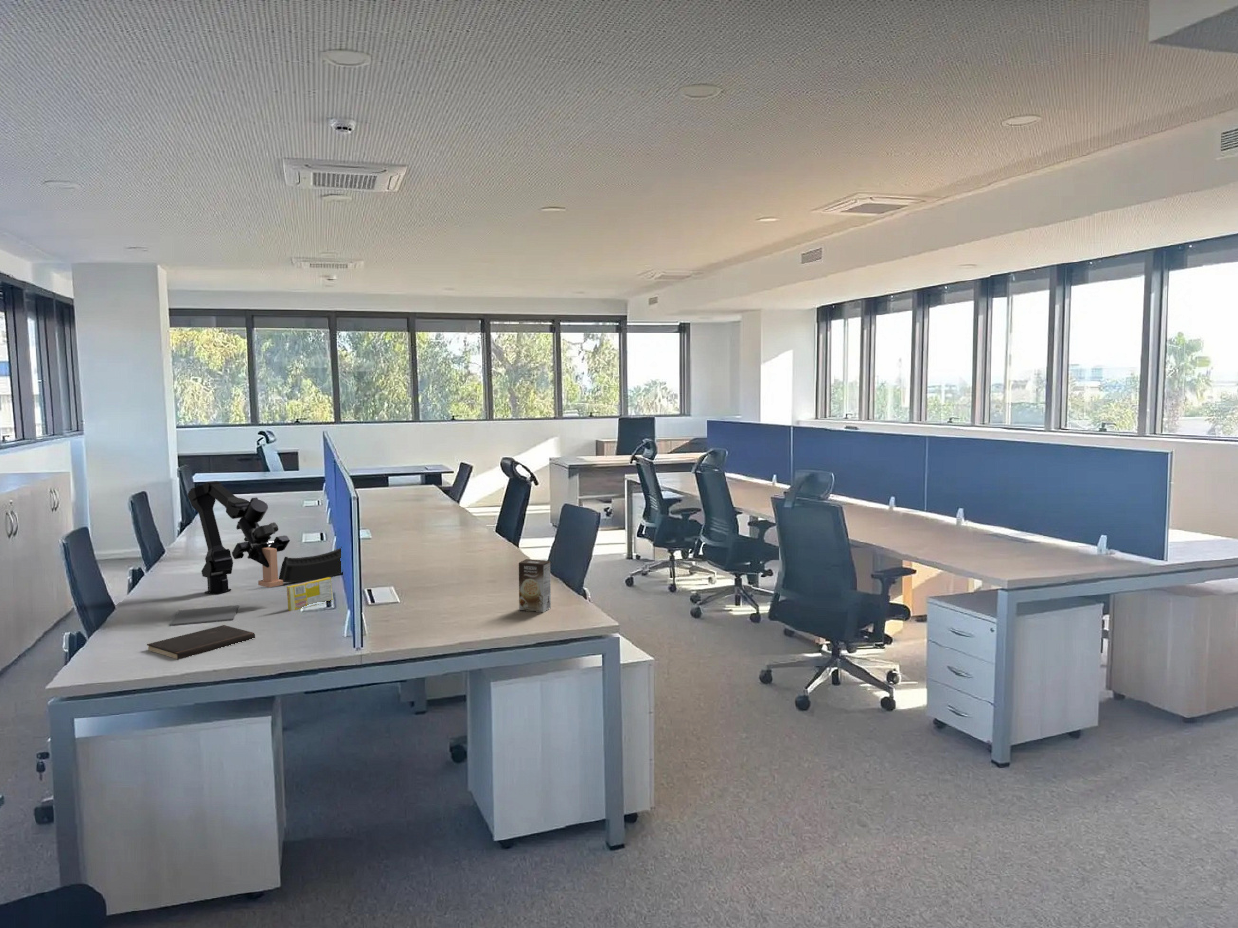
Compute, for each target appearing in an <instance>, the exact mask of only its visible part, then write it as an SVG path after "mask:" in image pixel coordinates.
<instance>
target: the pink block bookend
mask: <svg viewBox="0 0 1238 928" xmlns="http://www.w3.org/2000/svg"><path fill="white" fill-rule="evenodd" d="M262 552H263V554H264V556H265V558H266V559H267V561H268V563H269V567H268V568H267V567H265V566H264V565H262V564H261V567H262V580H261V579H260V580H258V582H257V583H258V586H260V587H265V588H274V587H278V586H283V585H284V582H283V580H280V579H279V569H278V552H277V549H275V548H270V547H267V548H262Z"/></svg>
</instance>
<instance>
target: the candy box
mask: <svg viewBox="0 0 1238 928" xmlns="http://www.w3.org/2000/svg"><path fill="white" fill-rule="evenodd" d="M332 589H333V588H332V577H328V578H323V579H318V580H312V581H305V582H301V583H297V584H293V585H289V586H286V596H287V610H288V611H289V612H292V611H297V610H301V608H302V607H304V606H307V605H309V604H313V603H317V602H325V601H330V600H334V599H333V598H334V597H333V590H332ZM330 602H331V601H330ZM302 609H303V608H302Z"/></svg>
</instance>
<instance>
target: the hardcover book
mask: <svg viewBox="0 0 1238 928" xmlns="http://www.w3.org/2000/svg"><path fill="white" fill-rule="evenodd" d="M252 638H255V639H256V634H255V632H253V631H249V630H245V629H241V628H237V627H233V626H229V625H225V624H222V625H219V626H215V627H210V628H206V629H202V630H199V631H194V632H190V633H186V634H182V635H178V636H175V637H171V638H166V639H163V640H158V641H154V642H151V643H146V646H148V648H147V649H148V651H150V652H153V653H156V654H158V655H163V656H165V655H166V657H170V658H172V659H174V660H177V661H179V660H182V659H186V658H189V656H190V657H193V656H192V655H194V656H196V655H201V654H203V653H207V652H208V653H209V652H211V651H214V650H215V649H216V650H218V648H219V649H222V648H221V647H223V648H226V647H225V646H227V647H230V646H232V645H231V644H234V645H236V644H235V643H238V642H241V643H243V642H242V641H245V642H247V641H246V640H249V639H252ZM252 640H253V639H252ZM249 641H250V640H249ZM238 644H239V643H238ZM229 645H230V646H229Z"/></svg>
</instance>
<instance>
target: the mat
mask: <svg viewBox="0 0 1238 928" xmlns="http://www.w3.org/2000/svg"><path fill="white" fill-rule="evenodd" d="M238 609H239V605H238V604H236V605H235V604H234V605H227V606H225V605H224V606H214V607H204V608H203V607H201V608H192V609H179V610H178V611H177V613H176V614H175V616H174V617H173V619H172V620H171V622H170V623H169V626H170V627H171V626H172V627H173V626H174V627H175V626H183V625H184V626H185V625H193V624H194V625H195V624H206V623H216V621H218V622H226V621H227V620H229V621H234V620H233V619H235V616H236V614H237V611H238ZM227 622H228V621H227Z"/></svg>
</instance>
